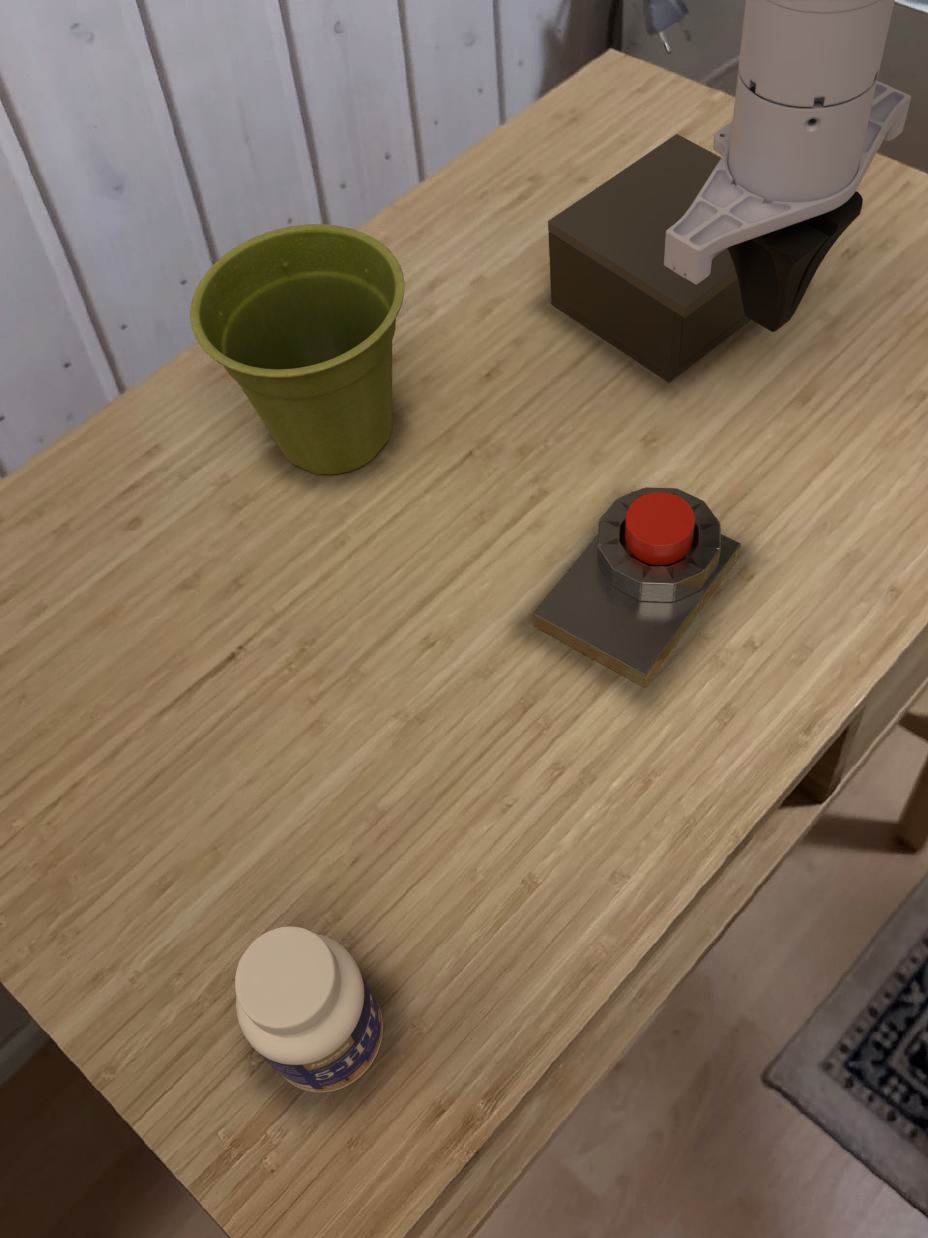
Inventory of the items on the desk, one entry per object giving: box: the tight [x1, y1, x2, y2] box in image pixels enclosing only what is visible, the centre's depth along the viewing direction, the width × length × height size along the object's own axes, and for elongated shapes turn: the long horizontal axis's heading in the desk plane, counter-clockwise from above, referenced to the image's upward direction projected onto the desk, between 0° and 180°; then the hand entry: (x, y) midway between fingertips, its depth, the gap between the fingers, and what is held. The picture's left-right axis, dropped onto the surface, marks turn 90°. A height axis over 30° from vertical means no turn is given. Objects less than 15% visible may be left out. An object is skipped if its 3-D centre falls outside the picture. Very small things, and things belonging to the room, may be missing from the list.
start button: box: [625, 492, 695, 565], centre depth 61 cm, size 4×4×2 cm
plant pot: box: [189, 223, 406, 475], centre depth 67 cm, size 12×12×11 cm
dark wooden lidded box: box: [547, 231, 752, 383], centre depth 73 cm, size 11×12×6 cm
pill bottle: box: [234, 925, 384, 1093], centre depth 48 cm, size 5×5×9 cm
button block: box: [532, 486, 742, 688], centre depth 62 cm, size 10×7×3 cm
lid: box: [547, 133, 738, 318], centre depth 70 cm, size 11×12×1 cm
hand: (767, 316), depth 59 cm, fingers closed
